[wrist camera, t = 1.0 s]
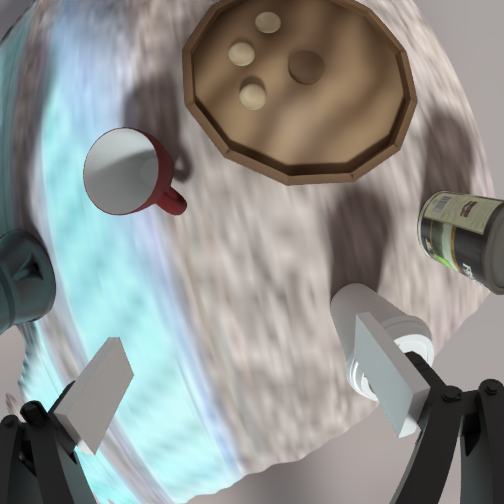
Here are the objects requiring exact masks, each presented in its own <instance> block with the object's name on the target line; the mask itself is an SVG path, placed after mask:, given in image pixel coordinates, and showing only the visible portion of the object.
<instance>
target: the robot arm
mask: <svg viewBox="0 0 504 504" xmlns="http://www.w3.org/2000/svg"><path fill="white" fill-rule="evenodd" d="M54 300H55V279H54V274H53V270H52V267H51V264H50V261H49V259H48V256H47V254H46V253H45V251H44V249H43V247H42V246H41V245H40V243H39V242H38V241H37V240H36V239H35V238H34V237H33V236H32V235H31V234H29V233H28V232H25V231H22V230H15V231H11V232H8V233H6V234H4V235H2V236H1V237H0V335H1V334H2V333H4V332H5V331H6V330H7V329H9V328H10V327H11V326H13V325H18V324H22V323H25V322H33V321H37V320H39V319H40V318H42V317H43V316H44V315H46V314H47V313H48V312H49V311H50V310H51V308H52V306H53V304H54ZM354 357H355V358H356V360H357V362H358V364H359V365H360V367H361V369H362V371H363V373H364V375H365V376H366V378H367V380H368V382H369V384H370V385H371V387H372V389H373V391H374V393H375V395H376V397H377V398H378V400H379V402H380V404H381V406H382V408H383V410H384V411H385V413H386V415H387V417H388V419H389V421H390V423H391V425H392V427H393V429H394V431H395V433H396V435H397V437H398V438H401V437H404V436H406V435H409V434H412V433H414V431H415V429H416V427H417V424H418V426H419V427H420V429H421V432H420V434H419V436H418V439H417V441H416V443H415V444H416V446H415V448H414V451H413V453H412V456H411V458H410V461H409V463H408V466H407V468H406V470H405V472H404V475H403V477H402V479H401V482H400V484H399V486H398V488H397V490H396V492H395V494H394V496H393V498H392V500H391V502H390V503H389V504H438V502H439V499H440V497H441V494H442V491H443V488H444V485H445V482H446V479H447V476H448V473H449V469H450V466H451V462H452V459H453V454H454V450H455V446H456V442H457V438H458V437H459V436H460V446H461V497H460V504H504V386H503V384H502V383H501V382H499V381H498V380H495V379H487V380H484V381H483V382H481V384H480V386H479V388H478V390H473V391H467V392H462V390H461V389H459V388H458V387H455V386H446V384H445V383H444V382H443V381H442V380H441V379H440V377H439V376H438V375H437V374H436V373H435V371H434V370H433V369H432V368H431V367H430V366H429V364H428V363H426V361H425V360H424V359H423V357H422V356H421V355H419V354H417V353H415V352H414V351H410V352H406V353H403V352H402V350H401V349H400V348H399V347H398V346H397V344H396V343H395V342H394V341H393V339H392V338H391V337H390V336H389V335H388V333H387V332H386V331H385V330H384V329H383V327H382V326H381V325H380V324H379V323H378V321H377V320H376V319H375V318H374V317H373V316H372V314H371V313H370V312H363V313H358V314H356V327H355V345H354ZM133 376H134V374H133V371H132V369H131V366H130V364H129V361H128V359H127V356H126V354H125V351H124V348H123V345H122V343H121V340H120V337H114V338H108V339H107V340H106V342H105V343H104V344H103V346H102V347H101V348H100V349H99V351H98V352H97V353H96V355H95V356H94V357H93V359H92V360H91V361H90V362H89V364H88V365H87V366H86V368H85V369H84V370H83V372H82V373H81V375H80V376H79V377H78V379H77V380H76V381H73V382H71V383H70V384H69V385H67V386H66V388H65V389H64V390H63V393H61V395H60V396H59V398H58V399H57V400H56V401H55V403H54V404H53V406H52V407H51V408H50V410H49V411H48V413H47V412H46V410H45V409H44V407H43V405H42V404H41V402H39V401H35V400H34V401H29V402H27V403H26V404H24V405H23V406H22V408H21V410H20V414H21V415H22V417H23V418H24V420H25V421H26V422H21V421H20V420H19V418H18V417H17V416H16V415H8V416H6V417H4V418H3V420H2V421H1V423H0V504H97V503H96V500H95V498H94V496H93V494H92V492H91V489H90V487H89V485H88V482H87V480H86V477H85V475H84V472H83V470H82V467H81V464H80V462H79V459H78V456H77V454H76V452H75V451H74V448H75V446H76V445H77V447H78V448H79V449H80V450H81V452H82V453H86V454H90V455H95V454H96V452H97V449H98V447H99V445H100V443H101V441H102V439H103V437H104V434H105V432H106V430H107V428H108V426H109V424H110V422H111V420H112V418H113V416H114V414H115V412H116V410H117V408H118V406H119V404H120V402H121V400H122V398H123V396H124V394H125V392H126V390H127V388H128V386H129V384H130V382H131V380H132V378H133ZM20 454H21V455H22V459H20Z"/></svg>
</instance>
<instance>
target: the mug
mask: <svg viewBox="0 0 504 504" xmlns="http://www.w3.org/2000/svg"><path fill="white" fill-rule="evenodd" d="M173 172H174V168H173V163H172V160H171V157H170V156H169V154H168V153H167V151H166V150H165V149H164V147H163V146H162V145H161V144H160V143H159V142H158V141H157V140H156V139H155V138H154V137H152V136H151V135H149V134H147V133H145V132H142V131H140V130H137V129H133V128H125V127H124V128H117V129H113V130H111V131H109V132H107V133H105V134H104V135H102V136H101V137H100V138H99V139H98V140H97V141H96V142H95V143H94V144H93V146H92V147H91V149H90V150H89V152H88V155H87V157H86V160H85V164H84V170H83V179H84V186H85V189H86V192H87V194H88V196H89V198H90V200H91V201H92V202H93V204H94V205H95V206H96V207H97V208H99V209H100V210H102V211H103V212H105V213H108V214H111V215H126V214H131V213H134V212H138V211H140V210H143V209H145V208H147V207H149V206H151V205H152V204H155V203H156V204H157V205H158V206H159V207H161V208H162V209H163V210H165V211H166V212H168V213H170V214H172V215H181V214H182V213H183V212H184V211H185V210H186V208H187V202H186V200H185V199H184V198H183V197H182V196H181V195H180V194H179V193H178V192H177V191H176V190H174V189H173V188H172V187H171V183H172V179H173Z"/></svg>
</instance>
